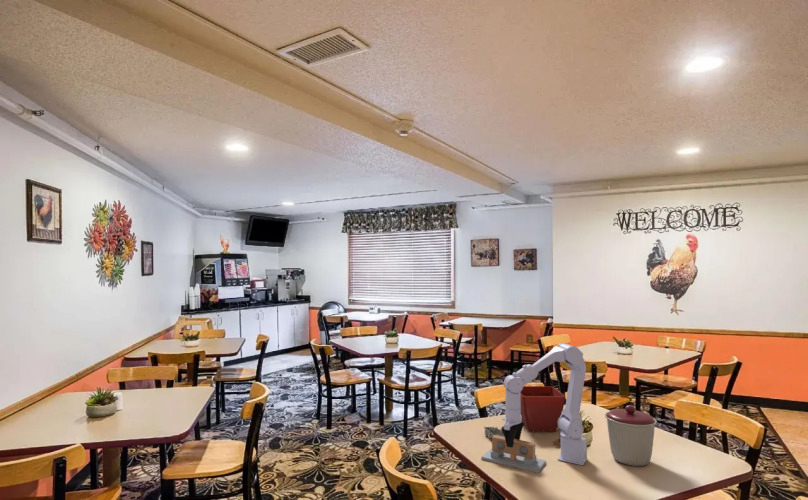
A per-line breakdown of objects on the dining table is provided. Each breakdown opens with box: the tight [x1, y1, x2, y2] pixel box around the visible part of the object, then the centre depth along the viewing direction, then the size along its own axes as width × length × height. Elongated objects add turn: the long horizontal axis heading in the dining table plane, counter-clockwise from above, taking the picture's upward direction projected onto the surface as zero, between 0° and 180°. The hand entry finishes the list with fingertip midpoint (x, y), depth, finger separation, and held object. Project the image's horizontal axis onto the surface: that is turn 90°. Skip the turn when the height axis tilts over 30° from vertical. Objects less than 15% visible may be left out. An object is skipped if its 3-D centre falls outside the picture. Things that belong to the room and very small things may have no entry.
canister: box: [604, 404, 658, 467], centre depth 180 cm, size 18×18×21 cm
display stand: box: [480, 448, 547, 474], centre depth 179 cm, size 22×10×3 cm, turn 58°
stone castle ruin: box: [483, 426, 504, 439], centre depth 205 cm, size 11×8×4 cm
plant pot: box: [520, 385, 566, 432], centre depth 218 cm, size 19×19×17 cm
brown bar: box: [491, 434, 536, 459], centre depth 179 cm, size 16×3×5 cm, turn 58°
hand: (513, 443), depth 179 cm, fingers open, 7 cm apart
